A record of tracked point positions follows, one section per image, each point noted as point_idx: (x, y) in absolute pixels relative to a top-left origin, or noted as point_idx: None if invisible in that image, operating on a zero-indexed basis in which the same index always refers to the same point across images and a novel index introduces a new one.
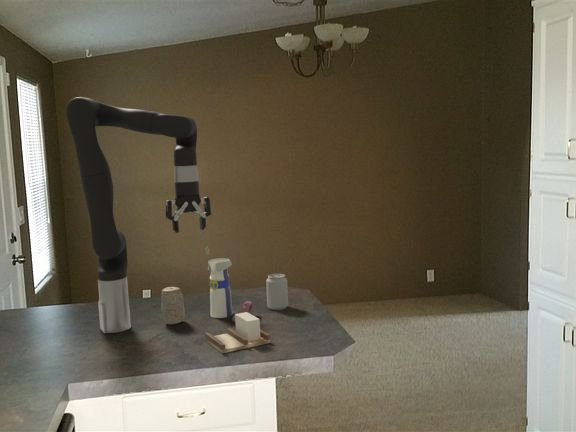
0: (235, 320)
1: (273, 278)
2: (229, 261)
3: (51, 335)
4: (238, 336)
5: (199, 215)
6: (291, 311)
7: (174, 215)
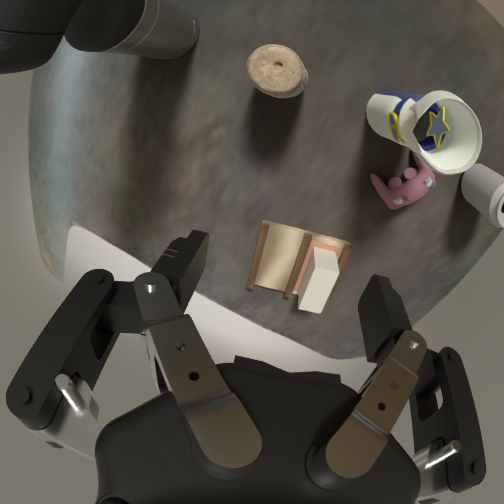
0: (314, 260)
1: (497, 215)
2: (464, 170)
3: None
4: (290, 279)
5: (391, 349)
6: (466, 218)
7: (150, 314)
